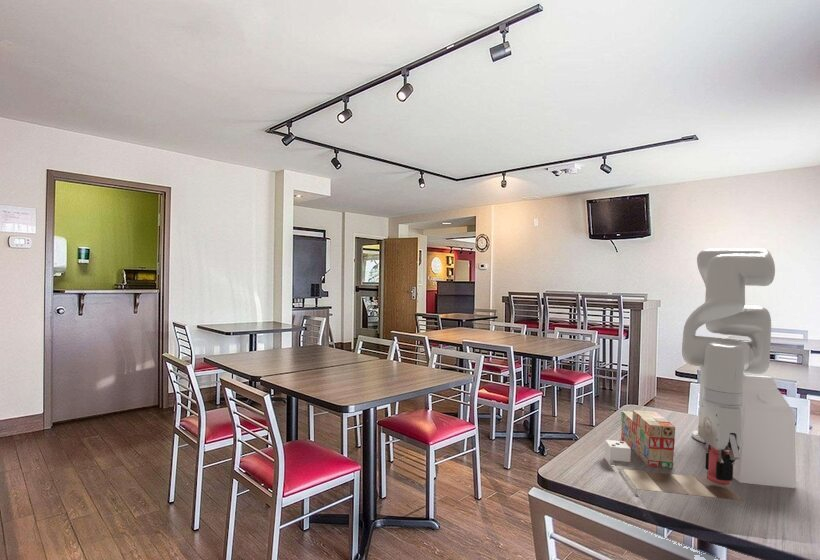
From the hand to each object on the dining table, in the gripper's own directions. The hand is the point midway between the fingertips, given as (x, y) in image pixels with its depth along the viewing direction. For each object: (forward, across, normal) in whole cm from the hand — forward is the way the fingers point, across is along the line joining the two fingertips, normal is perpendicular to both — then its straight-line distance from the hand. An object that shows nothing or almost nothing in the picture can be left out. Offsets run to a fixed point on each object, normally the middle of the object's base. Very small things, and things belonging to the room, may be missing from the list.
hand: (718, 474), depth 103 cm
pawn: (+1, 0, 0) cm, 1 cm away
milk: (+5, -9, +12) cm, 16 cm away
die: (+5, -12, -18) cm, 23 cm away
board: (+4, +1, -8) cm, 10 cm away
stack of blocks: (+5, -19, -9) cm, 22 cm away
